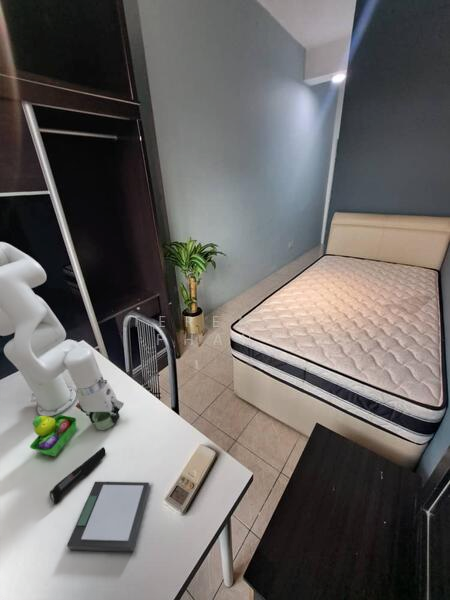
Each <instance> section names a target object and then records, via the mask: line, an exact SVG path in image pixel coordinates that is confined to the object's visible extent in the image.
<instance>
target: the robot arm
mask: <svg viewBox="0 0 450 600" xmlns="http://www.w3.org/2000/svg"><path fill="white" fill-rule="evenodd" d="M46 281H47V273H46V271H45V269H44V268H43V267H42V265H41V264H40V263H39V262H38V261H36V260H35V259H34V258H33V257H32V256H30V255H29V254H26V253H25V252H23V251H22V250H20V249H18V248H17V247H15V246H13V245H12V244H10V243H7V242H5V241H0V336H2V337H5V336H10V335H12V334H14V337H13V338H12V339H10V340H9V341H8V342H7V343H6V344H5V345H4V347H3V353H4V355H5V357H6V359H8V361H10V362H11V364H13V366H14V367H15V368H16V369H17V370H18V371H19V373H20V374H21V376H22V377H23V380H25V382H26V384H27V385H28V387H29V389H30V390H31V392H32V393H31V397H32V398H31V399H30V402H31V403H37V408H36V410H37V413H38V414H39V416H42V415H43V416H46V417H53V416H58V415H60V414H61V413H62V412H65V411H66V410H67V409H69V408H70V407H71V405H73V403H74V402H75V400H76V397H77V400H78V402H77V403H76V404H75V406H74V407H75V408H76V409H78V410H80V412H82V413H84V414H85V416H86V417H88V419H89V420H90V423H91V424H94V422H93V420H92V415H93V413H94V412H109V413H110V414H111V419H112V421H113V423H114V424H113V425H116V424H117V423H118V420H120V413H119V412H120V410H122V408H123V407H124V404H125V403H124V402H122V401H120V400H118V398H117V395H116V393H115V391H114V390H113V388H112V386H111V385H110V383H109V382H108V380H107V379H104V377H103V373H102V372H101V370H100V367H99V364H98V361H97V360H96V357H95V354H94V351H93V350H92V349H91V348H89V347H86V346H83V345H81V344H80V343H79V341H77V340H74V339H69V338H68V339H66V338H67V332H66V330H65V328H64V326H63V325H62V323H61V322H60V320H59V318H58V317H57V316H56V314H55V313H54V312H53V310H52V309H51V307H50V306H49V304H48V303H47V302H46V301H45V300H44V299H43V298H42V297H41V296H39V295H38V294H35V292H34V290H33V289H34V288H37V287H39V286H41V285H43V284H44V283H45V282H46ZM65 371H67V372H68V374H69V376H70V378H71V381H72V382H73V384H74V386H75V388H76V390H75V389H74V388H72V387H68V385H67V384H66V382H65V379H64V377H63V375H62V374H63V373H64V372H65ZM112 407H113V408H114V410H112ZM94 425H95V424H94Z"/></svg>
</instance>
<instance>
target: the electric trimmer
mask: <svg viewBox="0 0 450 600" xmlns="http://www.w3.org/2000/svg"><path fill="white" fill-rule="evenodd" d="M105 456H106V447H101V448H100V449H98V450H97V451H96V452H95V453H94V454H93V455H92V456H90V457H89V458H88V459H86V461H84V462H83V463H81V465H79V466H78V467H76V468H75V469H74V470H72V471H71V472H70V473H69V474H67V476H65V477H64V478H63V479H61V480H60V481H59V482H58V483H57V484H55V485H54V486H53V488H52V489H51V490H50V491H49V498H50V500H51V501H52V503H53V504H56V503H59V502H60V500H61V497H62V496H63V495H64V494H65V493H66V492H67V491H69V490H70V489H71V488H72V487H73V486H75V484H76V483H77V482H79V480H81V479H82V478H83V477H85V476H88V474H90V473H91V472H92V470H94V468H96V466H97V465H98V464H99V463H100V462H101V461H102V460H103V458H105Z"/></svg>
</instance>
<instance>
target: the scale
mask: <svg viewBox="0 0 450 600" xmlns="http://www.w3.org/2000/svg"><path fill="white" fill-rule="evenodd" d="M150 490H151V486H150V482H145V481H144V482H143V481H141V482H140V481H139V482H137V481H135V482H134V481H94V483H93V485H92V487H91V490H90V492H89V494H88V497H87V499H86V501H85V503H84V506H83V508H82V510H81V513H80V515H79V517H78V519H77V522H76V525H75V526H74V528H73V531H72V533H71V536H70V538H69V540H68V542H67V544H66V547H67V548H68V549H69V550H70V551H71V550H72V551H93V552H94V551H97V552H98V551H99V552H124V553H125V552H126V553H127V552H128V553H129V552H130V553H133V552H134V551H135V547H136V543H137V539H138V535H139V531H140V528H141V524H142V521H143V516H144V513H145V509H146V505H147V501H148V497H149V494H150Z"/></svg>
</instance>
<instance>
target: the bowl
mask: <svg viewBox="0 0 450 600" xmlns="http://www.w3.org/2000/svg"><path fill="white" fill-rule="evenodd" d="M112 410H114V408H113V407H112ZM92 420H93V422H94V426H95V427H96V429H97V430H100V431H105V430H108V429H109V428H112V427H113V426H114V425H115V424H114V423H113V421H112V419H111V414H110V413H109V412H94V413H93V415H92Z"/></svg>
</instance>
